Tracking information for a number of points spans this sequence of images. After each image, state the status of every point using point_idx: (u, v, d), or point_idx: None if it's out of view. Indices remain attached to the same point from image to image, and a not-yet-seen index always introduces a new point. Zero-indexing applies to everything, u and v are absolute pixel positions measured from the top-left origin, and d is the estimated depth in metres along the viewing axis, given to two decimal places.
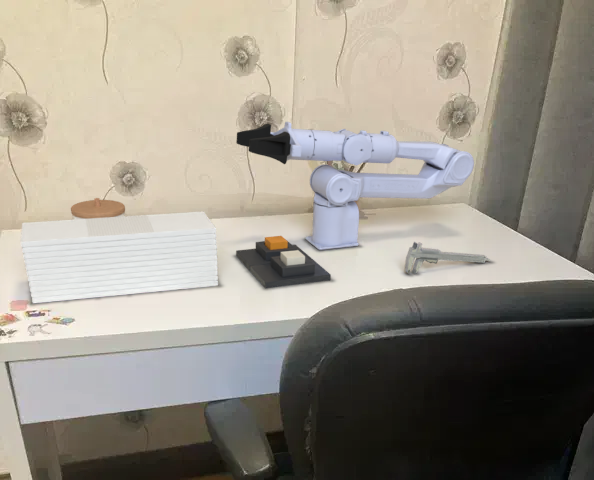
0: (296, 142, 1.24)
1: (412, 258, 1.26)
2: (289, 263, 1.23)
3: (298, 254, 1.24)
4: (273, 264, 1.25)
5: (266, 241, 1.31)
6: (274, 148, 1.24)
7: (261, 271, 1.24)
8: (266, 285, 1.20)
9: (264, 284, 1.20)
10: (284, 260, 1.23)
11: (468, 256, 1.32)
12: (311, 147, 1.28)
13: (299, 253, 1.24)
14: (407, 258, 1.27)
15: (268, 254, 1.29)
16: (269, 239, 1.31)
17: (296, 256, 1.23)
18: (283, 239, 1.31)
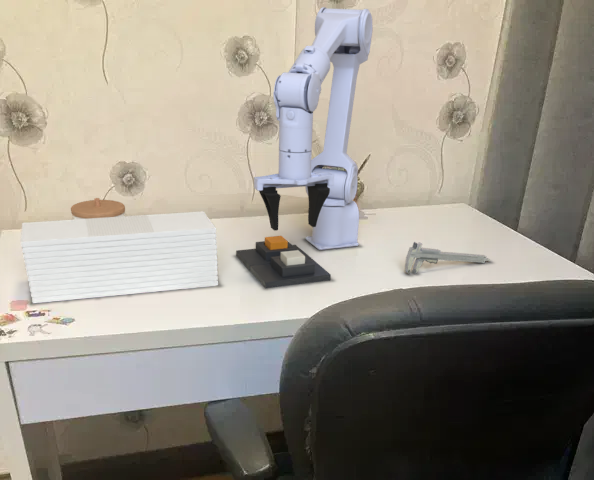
0: (325, 178, 1.17)
1: (412, 258, 1.26)
2: (289, 263, 1.23)
3: (298, 254, 1.24)
4: (273, 264, 1.25)
5: (266, 241, 1.31)
6: None
7: (261, 271, 1.24)
8: (266, 285, 1.20)
9: (264, 284, 1.20)
10: (284, 260, 1.23)
11: (468, 256, 1.32)
12: None
13: (299, 253, 1.24)
14: (407, 258, 1.27)
15: (268, 254, 1.29)
16: (269, 239, 1.31)
17: (296, 256, 1.23)
18: (283, 239, 1.31)
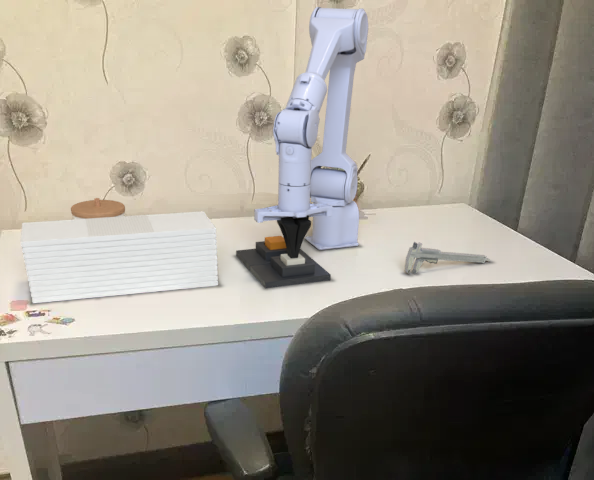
0: (324, 209, 1.20)
1: (412, 258, 1.26)
2: None
3: (298, 256, 1.24)
4: (273, 264, 1.25)
5: (266, 241, 1.31)
6: None
7: (261, 271, 1.24)
8: (266, 285, 1.20)
9: (264, 284, 1.20)
10: (284, 262, 1.24)
11: (468, 256, 1.32)
12: None
13: (299, 255, 1.24)
14: (407, 258, 1.27)
15: (268, 254, 1.29)
16: (269, 239, 1.31)
17: (296, 258, 1.23)
18: (283, 239, 1.31)
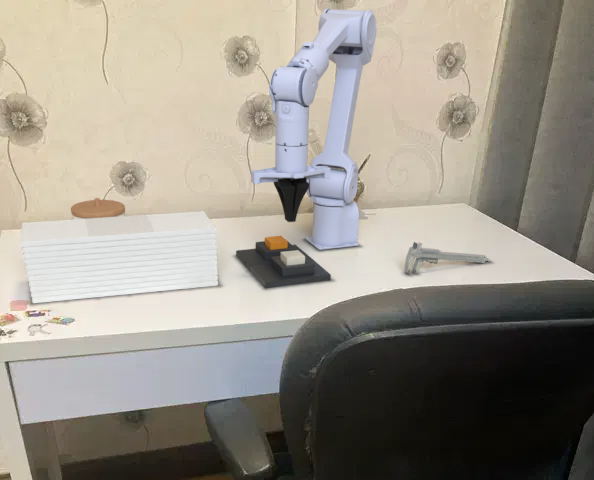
0: (322, 171, 1.19)
1: (412, 258, 1.26)
2: (289, 263, 1.23)
3: (298, 254, 1.24)
4: (273, 264, 1.25)
5: (266, 241, 1.31)
6: None
7: (261, 271, 1.24)
8: (266, 285, 1.20)
9: (264, 284, 1.20)
10: (284, 260, 1.23)
11: (468, 256, 1.32)
12: None
13: (299, 253, 1.24)
14: (407, 258, 1.27)
15: (268, 254, 1.29)
16: (269, 239, 1.31)
17: (296, 256, 1.23)
18: (283, 239, 1.31)
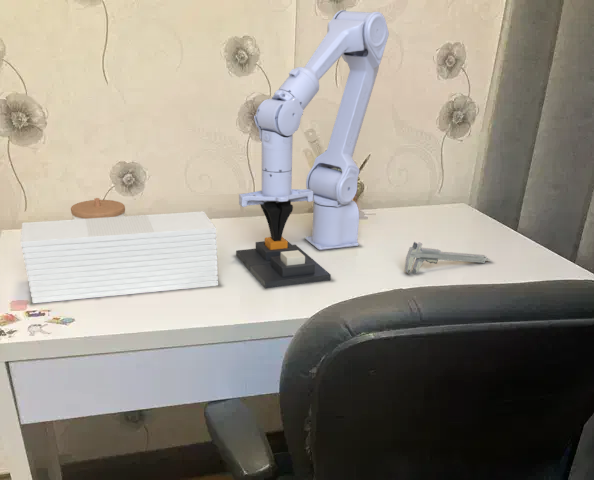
0: (305, 195, 1.27)
1: (412, 258, 1.26)
2: (289, 263, 1.23)
3: (298, 254, 1.24)
4: (273, 264, 1.25)
5: (266, 241, 1.31)
6: None
7: (261, 271, 1.24)
8: (266, 285, 1.20)
9: (264, 284, 1.20)
10: (284, 260, 1.23)
11: (468, 256, 1.32)
12: None
13: (299, 253, 1.24)
14: (407, 258, 1.27)
15: (268, 254, 1.29)
16: (269, 239, 1.31)
17: (296, 256, 1.23)
18: (283, 239, 1.31)
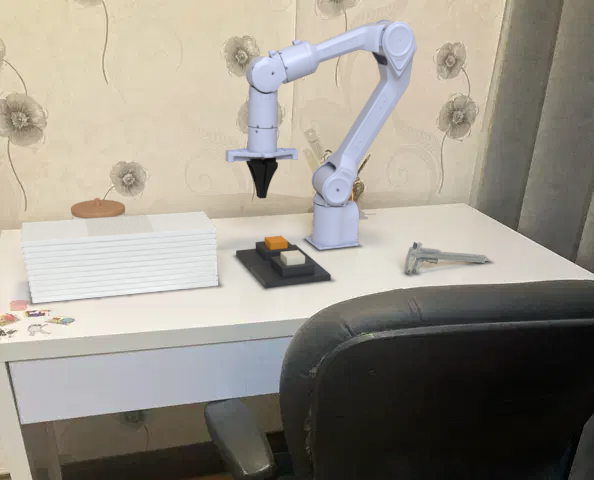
0: (290, 153, 1.31)
1: (412, 258, 1.26)
2: (289, 263, 1.23)
3: (298, 254, 1.24)
4: (273, 264, 1.25)
5: (266, 241, 1.31)
6: None
7: (261, 271, 1.24)
8: (266, 285, 1.20)
9: (264, 284, 1.20)
10: (284, 260, 1.23)
11: (468, 256, 1.32)
12: None
13: (299, 253, 1.24)
14: (407, 258, 1.27)
15: (268, 254, 1.29)
16: (269, 239, 1.31)
17: (296, 256, 1.23)
18: (283, 239, 1.31)
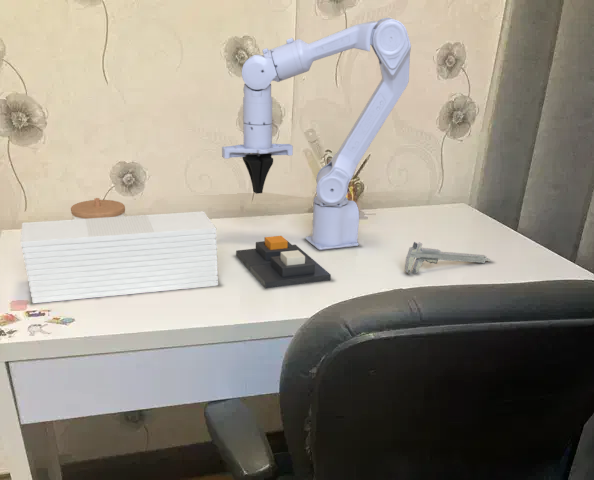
0: (285, 148, 1.34)
1: (412, 258, 1.26)
2: (289, 263, 1.23)
3: (298, 254, 1.24)
4: (273, 264, 1.25)
5: (266, 241, 1.31)
6: None
7: (261, 271, 1.24)
8: (266, 285, 1.20)
9: (264, 284, 1.20)
10: (284, 260, 1.23)
11: (468, 256, 1.32)
12: None
13: (299, 253, 1.24)
14: (407, 258, 1.27)
15: (268, 254, 1.29)
16: (269, 239, 1.31)
17: (296, 256, 1.23)
18: (283, 239, 1.31)
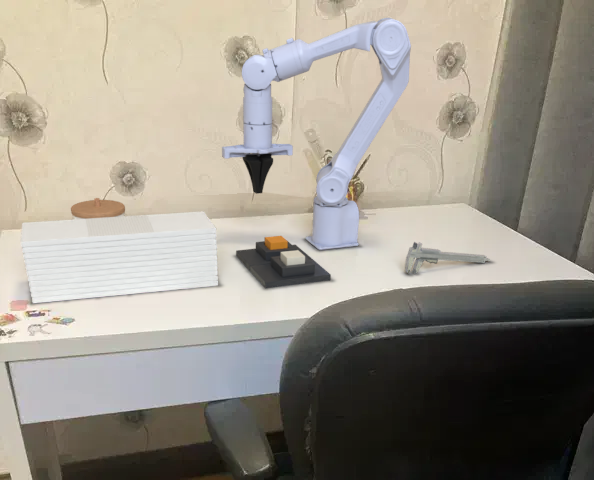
0: (285, 148, 1.34)
1: (412, 258, 1.26)
2: (289, 263, 1.23)
3: (298, 254, 1.24)
4: (273, 264, 1.25)
5: (266, 241, 1.31)
6: None
7: (261, 271, 1.24)
8: (266, 285, 1.20)
9: (264, 284, 1.20)
10: (284, 260, 1.23)
11: (468, 256, 1.32)
12: None
13: (299, 253, 1.24)
14: (407, 258, 1.27)
15: (268, 254, 1.29)
16: (269, 239, 1.31)
17: (296, 256, 1.23)
18: (283, 239, 1.31)
